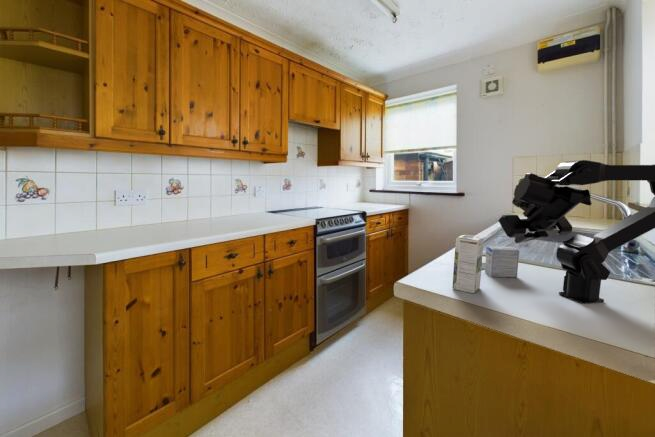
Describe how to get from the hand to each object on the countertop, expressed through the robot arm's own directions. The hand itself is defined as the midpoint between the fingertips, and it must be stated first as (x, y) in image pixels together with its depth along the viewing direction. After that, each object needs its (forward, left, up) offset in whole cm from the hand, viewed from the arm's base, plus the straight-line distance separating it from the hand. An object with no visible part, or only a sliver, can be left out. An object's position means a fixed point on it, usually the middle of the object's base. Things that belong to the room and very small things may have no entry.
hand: (516, 241), depth 88 cm
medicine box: (+5, 0, -12) cm, 13 cm away
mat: (+14, +1, -12) cm, 18 cm away
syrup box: (-3, +18, -12) cm, 22 cm away
